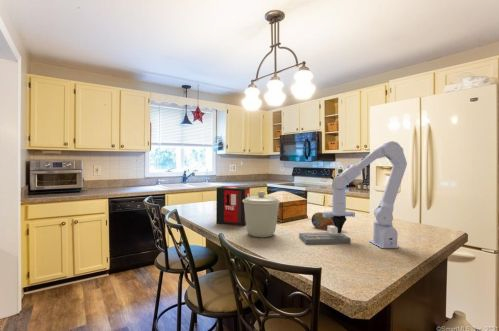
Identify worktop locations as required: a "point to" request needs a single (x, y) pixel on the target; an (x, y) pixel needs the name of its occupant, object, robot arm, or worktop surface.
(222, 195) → the cleaning product box
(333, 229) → the fader tab
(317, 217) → the tin
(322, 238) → the fader console
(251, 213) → the canister
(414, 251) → the worktop surface
